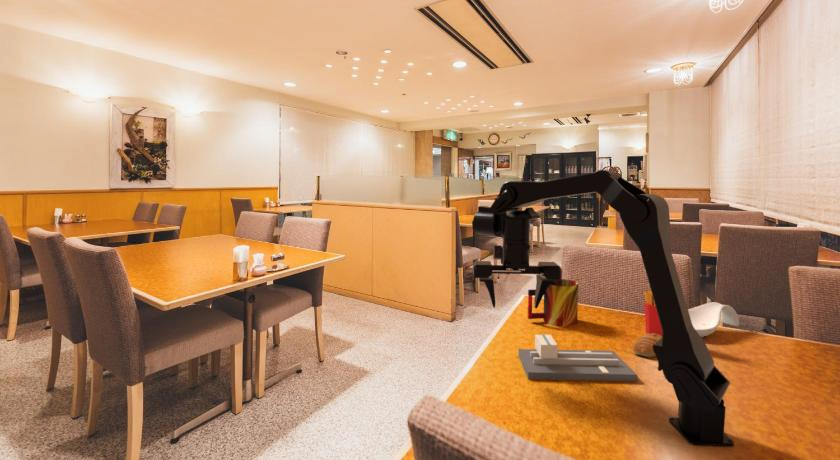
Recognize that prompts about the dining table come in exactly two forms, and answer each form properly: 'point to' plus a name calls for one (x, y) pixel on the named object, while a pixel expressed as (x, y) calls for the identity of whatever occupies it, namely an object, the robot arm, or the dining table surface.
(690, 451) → the dining table surface
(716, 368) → the robot arm
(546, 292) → the mug
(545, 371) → the grey slider panel
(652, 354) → the pastry
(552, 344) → the block
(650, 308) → the french fries
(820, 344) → the dining table surface
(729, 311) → the spoon rest
